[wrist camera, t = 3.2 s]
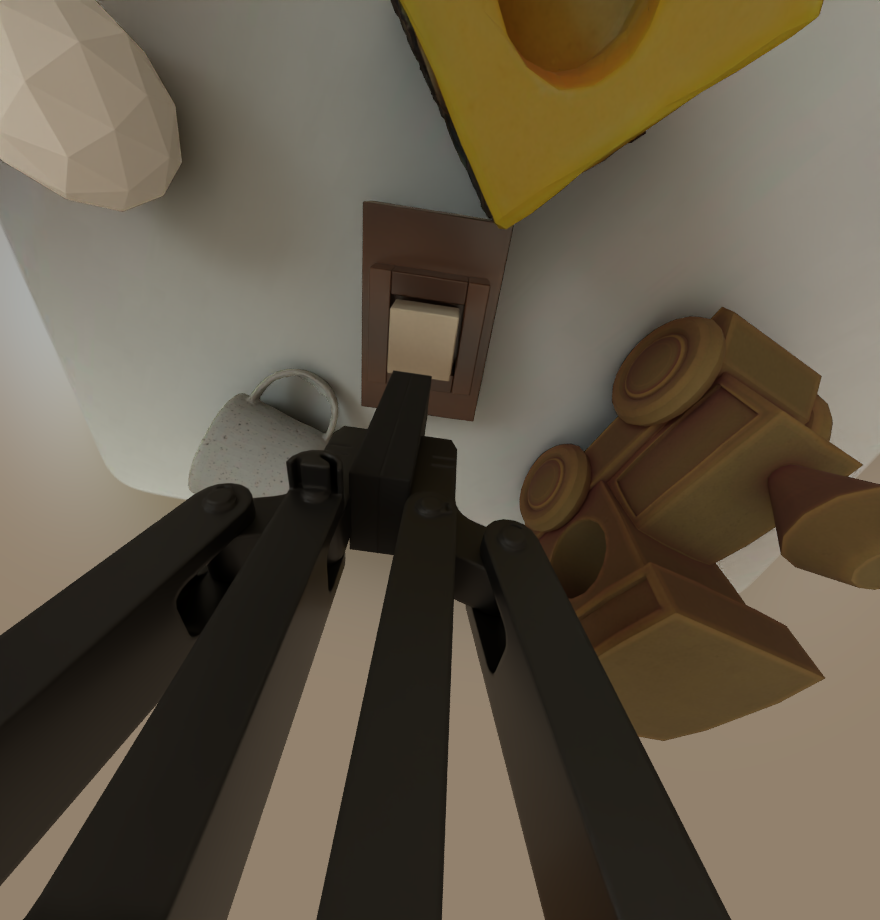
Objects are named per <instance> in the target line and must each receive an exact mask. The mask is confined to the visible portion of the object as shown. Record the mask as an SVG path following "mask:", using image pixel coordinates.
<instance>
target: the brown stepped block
mask: <svg viewBox="0 0 880 920" xmlns="http://www.w3.org/2000/svg"><path fill="white" fill-rule="evenodd" d="M513 227H514V225H512V226H511V227H509V228H508V229H499V228H498V226H497V225H496V224H494V223H493V221H492V220H491V219H485V218H478V217H472V216H466V215H459V214H453V213H447V212H440V211H434V210H427V209H421V208H415V207H408V206H402V205H395V204H389V203H383V202H376V201H364V202H363V269H362V404H361V405H362V406H366V407H373V408H377V406H378V404H379V402H380V400H381V397H382V395H383V393H384V390H385V388H386V386H387V384H388V381H389V379H390V377H391V374H392V373H388V372H387V364H388V343H389V323H390V308H391V306H392V305H393V303H394V302H395V300H396V299H401V300H407V301H414V302H421V303H428V304H434V305H441V306H448V307H454V308H459V310H460V311H459V323H458V330H457V336H456V343H455V349H454V356H453V362H452V369H451V375H450V380H449V381H442V380H435V379H432V380H431V388H430V396H429V404H428V412H427V415H430V416H437V417H444V418H452V419H459V420H466V421H473V420H474V415H475V411H476V406H477V401H478V396H479V391H480V386H481V382H482V377H483V372H484V367H485V362H486V357H487V352H488V348H489V343H490V338H491V333H492V328H493V323H494V319H495V314H496V309H497V304H498V299H499V294H500V290H501V285H502V280H503V275H504V270H505V265H506V261H507V256H508V251H509V246H510V241H511V236H512V232H513Z"/></svg>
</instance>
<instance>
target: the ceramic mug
mask: <svg viewBox="0 0 880 920" xmlns="http://www.w3.org/2000/svg"><path fill="white" fill-rule="evenodd" d="M293 375H295V376H298V377H300V378H302V379H304V380H306V381H307V382H309V383H310V384H312V385H314V386H315V387H316V388H317V389H318V391H319V393H320V394H321V395H324V396H325V397H326V399H327V400H328V402H329V403H330V406H331V414H332V417H331V420H330V424H329V428H328V430H327V432H326V433H323V432H321V431H319V430H317V429H315V428H313V427H311V426H309V425H306V424H303V423H301V422H299V421H297V420H295V419H293V418H292V417H290V416H288V415H286V414H284V413H282V412H281V411H279V410H277V409H275V408H273V407H271V406H270V405H267V404H265V403H263V402H262V401H260V396H261V395H262V394H263V392H264V391H265V390H266V388H267V387H268V386H269V385H270V384H271V383H273V382H274V381H275V380H277V379H280V378H283V377H289V376H293ZM337 418H338V402H337V398H336V396H335V394H334V392H333V390H332V389H331V388H330V386H329V385H328V384H327V383H326V382H325V381H324V380H323V379H321V378H320V377H318V376H317V375H315V374H313V373H311V372H309V371H306V370H301V369H286V370H282V371H278V372H276V373H273V374H272V375H270V376H268V377H267V378H265V379H264V380H263V381H262V382H261V383H260V384H259V385H258V386H257V388H256V389H255V390H254V391H253V393H252V394H251V396H249V395H246V394H243V393H241V394H238V395H236V396H234V397H233V398H232V399H230V400H229V401H228V402H227V403H226V404H225V405H224V407H223V408H222V409H221V410H220V411H219V413H218V414H217V416H216V417H215V419H214V420H213V422H212V423H211V425H210V427H209V428H208V430H207V432H206V434H205V436H204V437H203V439H202V442H201V444H200V446H199V448H198V450H197V452H196V455H195V457H194V459H193V463H192V466H191V469H190V473H189V483H188V485H189V489H190V491H191V492H193V493H195V494H196V493H197V492H199V491H201V490H203V489H205V488H206V487H210V486H213V485H216V484H223V483H234V484H240V485H243V486H245V487H246V488H248V489H249V490H250V492H251V494H252V496H253V498H258V497H270V496H278V495H283V494H286V493H287V492H288V490H289V481H288V474H287V466H286V461H287V460H288V459H289V458H290V457H292V456H293V455H295V454H298V453H300V452H303V451H308V450H324V449H325V447H326V445H327V444H328V442H329V440H330V438H331V435H332V433H333V431H334V429H335V427H336V423H337Z"/></svg>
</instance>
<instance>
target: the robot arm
mask: <svg viewBox="0 0 880 920" xmlns="http://www.w3.org/2000/svg"><path fill="white" fill-rule="evenodd" d="M431 380H432V376H429V375H422V374H415V373H408V372H401V371H395V370H393V372H392V374H391V377H390V379H389V381H388V384H387V386H386V388H385V390H384V393H383V395H382V397H381V400H380V402H379V404H378V406H377V409H376V411H375V413H374V416H373V418H372V420H371V422H370V425H369V427H368V429H363V428H356V427H349V426H344V427H342V428H341V429H339V430H338V431H336V432H334V433H333V435H332V437H331V438H330V440H329V442H328V444H327V445H326V447H325V449H324V450H308V451H303V452H300V453H298V454H295V455H293V456H292V457H290V458H289V459H288V460H287V461H286V466H287V474H288V481H289V490H288V492H287V493H286V494H283V495H278V496H270V497H258V498H253V496H252V494H251V492H250V490H249V489H248V488H246V487H245V486H243V485H240V484H234V483H223V484H216V485H213V486H210V487H206V488H205V489H203V490H201V491H199V492H197V493H196V494H194V495H193V496H192V497H190V498H189V499H187V500H186V501H185V502H183V503H182V504H181V505H179V506H178V507H176V508H175V509H174V510H173V511H171V512H170V513H168V514H167V515H166V516H164V517H163V518H161V519H160V520H159V521H157V522H156V523H154V524H153V525H152V526H150V527H149V528H148V529H146V530H145V531H143V532H142V533H141V534H139V535H138V536H137V537H135V538H134V539H133V540H131V541H130V542H128V543H127V544H126V545H124V546H123V547H121V548H120V549H119V550H118V551H116V552H115V553H113V554H112V555H111V556H109V557H108V558H106V559H105V560H104V561H102V562H101V563H99V564H98V565H97V566H95V567H94V568H93V569H91V570H90V571H88V572H87V573H86V574H84V575H83V576H81V577H80V578H79V579H77V580H76V581H75V582H73V583H72V584H70V585H69V586H68V587H66V588H65V589H64V590H62V591H61V592H60V593H58V594H57V595H55V596H54V597H53V598H51V599H50V600H48V601H47V602H46V603H44V604H43V605H42V606H40V607H39V608H37V609H36V610H35V611H33V612H32V613H31V614H29V615H28V616H27V617H25V618H24V619H22V620H21V621H20V622H18V623H17V624H15V625H14V626H13V627H11V628H10V629H9V630H7V631H6V632H4V633H3V634H2V635H0V886H1V884H2V883H3V882H4V881H5V880H6V879H7V877H8V876H9V875H10V874H11V873H12V872H13V871H14V869H15V868H16V867H17V866H18V865H19V864H20V862H21V861H22V860H23V859H24V858H25V857H26V855H27V854H28V853H29V852H30V851H31V849H32V848H33V847H34V846H35V845H36V844H37V843H38V842H39V840H40V839H41V838H42V837H43V836H44V835H45V833H46V832H47V831H48V830H49V829H50V827H51V826H52V825H53V824H54V823H55V822H56V821H57V819H58V818H59V817H60V816H61V815H62V814H63V812H64V811H65V810H66V809H67V808H68V807H69V806H70V804H71V803H72V802H73V801H74V800H75V798H76V797H77V796H78V795H79V794H80V793H81V792H82V790H83V789H84V788H85V787H86V785H88V783H89V782H90V781H91V780H92V779H93V778H94V776H95V775H96V774H97V773H98V772H99V771H100V769H101V768H102V767H103V766H104V765H105V763H106V762H107V761H108V760H109V759H110V758H111V757H112V755H113V754H114V753H115V752H116V751H117V750H118V749H119V747H120V746H121V745H122V744H123V743H124V741H125V740H126V739H127V738H128V737H129V736H130V734H131V733H132V732H133V731H134V730H135V729H136V728H137V727H138V725H139V724H140V723H141V722H142V721H143V719H144V718H145V717H146V716H147V715H148V713H150V711H151V710H152V709H153V708H154V707H155V706H156V704H157V703H158V704H157V706H156V707H155V709H154V711H153V712H152V714H151V715H150V717H149V719H148V720H147V722H146V724H145V725H144V727H143V729H142V730H141V732H140V734H139V735H138V737H137V738H136V740H135V742H134V744H133V745H132V747H131V748H130V750H129V751H128V753H127V755H126V756H125V758H124V760H123V761H122V763H121V764H120V766H119V768H118V769H117V771H116V773H115V774H114V776H113V778H112V779H111V781H110V782H109V784H108V786H107V787H106V789H105V791H104V792H103V794H102V796H101V797H100V799H99V800H98V802H97V804H96V806H95V807H94V809H93V811H92V812H91V813H90V815H89V817H88V818H87V820H86V822H85V823H84V825H83V826H82V828H81V830H80V831H79V833H78V835H77V836H76V838H75V840H74V841H73V843H72V845H71V846H70V848H69V849H68V851H67V853H66V854H65V856H64V857H63V860H62V861H61V862H60V864H59V866H58V867H57V869H56V871H55V872H54V874H53V875H52V877H51V879H50V881H49V882H48V884H47V885H46V887H45V888H44V890H43V892H42V894H41V895H40V897H39V898H38V900H37V901H36V902H35V904H34V905H33V907H32V908H31V910H30V911H29V913H28V914H27V916H26V917H25V918H24V919H23V920H227V917H228V914H229V911H230V908H231V905H232V902H233V899H234V896H235V893H236V890H237V887H238V884H239V881H240V878H241V875H242V872H243V869H244V866H245V863H246V860H247V857H248V854H249V851H250V848H251V845H252V842H253V839H254V836H255V833H256V830H257V827H258V824H259V821H260V818H261V815H262V812H263V809H264V806H265V803H266V800H267V797H268V794H269V791H270V788H271V785H272V782H273V779H274V776H275V773H276V770H277V767H278V764H279V761H280V758H281V755H282V752H283V749H284V746H285V743H286V740H287V737H288V734H289V731H290V728H291V725H292V722H293V719H294V716H295V713H296V710H297V707H298V704H299V701H300V698H301V695H302V692H303V689H304V686H305V683H306V680H307V677H308V674H309V671H310V668H311V665H312V662H313V659H314V656H315V653H316V650H317V647H318V644H319V641H320V638H321V635H322V632H323V629H324V626H325V623H326V620H327V617H328V614H329V611H330V608H331V605H332V602H333V599H334V596H335V593H336V590H337V587H338V584H339V581H340V578H341V575H342V572H343V569H344V566H345V550H346V547H347V544H348V541H349V538H350V549H353V550H360V551H367V552H375V553H382V554H390V555H394V556H393V561H392V566H391V570H390V575H389V580H388V585H387V589H386V594H385V599H384V603H383V608H382V613H381V618H380V623H379V627H378V632H377V637H376V641H375V646H374V651H373V656H372V660H371V665H370V670H369V674H368V679H367V684H366V688H365V693H364V698H363V702H362V707H361V712H360V717H359V721H358V726H357V731H356V736H355V741H354V745H353V750H352V755H351V759H350V764H349V769H348V773H347V778H346V783H345V787H344V792H343V797H342V802H341V806H340V811H339V816H338V820H337V825H336V830H335V835H334V839H333V844H332V849H331V854H330V858H329V863H328V868H327V873H326V877H325V882H324V887H323V891H322V896H321V901H320V905H319V910H318V915H317V920H442V898H443V872H444V871H443V870H444V846H445V845H444V843H445V818H446V792H447V766H448V740H449V712H450V686H451V685H450V684H451V659H452V633H453V606H454V599H455V600H457V601H459V602H462V603H464V604H466V610H467V614H468V618H469V622H470V626H471V630H472V634H473V638H474V642H475V646H476V650H477V654H478V658H479V662H480V666H481V669H482V673H483V677H484V681H485V685H486V689H487V693H488V697H489V701H490V705H491V709H492V713H493V717H494V721H495V725H496V728H497V732H498V736H499V740H500V744H501V748H502V752H503V756H504V760H505V764H506V767H507V772H508V775H509V780H510V784H511V787H512V791H513V795H514V799H515V803H516V807H517V811H518V815H519V819H520V823H521V827H522V831H523V834H524V839H525V842H526V846H527V850H528V854H529V858H530V862H531V866H532V870H533V873H534V878H535V882H536V886H537V890H538V894H539V898H540V902H541V906H542V909H543V913H544V917H545V920H731V918H730V916H729V915H728V913H727V911H726V909H725V907H724V905H723V903H722V901H721V899H720V897H719V895H718V893H717V891H716V889H715V887H714V885H713V883H712V881H711V879H710V877H709V876H708V873H707V871H706V869H705V867H704V865H703V863H702V861H701V859H700V857H699V855H698V853H697V851H696V849H695V848H694V845H693V843H692V842H691V840H690V838H689V836H688V834H687V832H686V830H685V828H684V826H683V824H682V822H681V820H680V818H679V816H678V814H677V812H676V810H675V808H674V806H673V804H672V802H671V800H670V798H669V796H668V794H667V792H666V790H665V788H664V786H663V784H662V782H661V781H660V778H659V776H658V774H657V772H656V771H655V769H654V767H653V765H652V763H651V761H650V759H649V757H648V755H647V753H646V751H645V749H644V747H643V745H642V743H641V741H640V739H639V737H638V735H637V733H636V731H635V729H634V727H633V725H632V723H631V721H630V719H629V717H628V715H627V713H626V711H625V709H624V707H623V705H622V703H621V701H620V699H619V697H618V695H617V693H616V692H615V690H614V688H613V686H612V684H611V682H610V680H609V678H608V676H607V674H606V672H605V670H604V668H603V666H602V664H601V662H600V660H599V658H598V656H597V654H596V652H595V650H594V648H593V646H592V644H591V642H590V640H589V638H588V636H587V634H586V632H585V630H584V628H583V626H582V624H581V622H580V620H579V618H578V617H577V615H576V613H575V611H574V609H573V607H572V605H571V603H570V601H569V599H568V597H567V595H566V593H565V591H564V589H563V587H562V585H561V583H560V581H559V579H558V577H557V575H556V573H555V571H554V569H553V567H552V565H551V563H550V561H549V559H548V557H547V555H546V553H545V551H544V549H543V547H542V545H541V543H540V542H539V540H538V538H537V536H536V535H535V534H534V533H533V531H532V530H531V529H529V528H528V527H526V526H525V525H524V524H521V523H519V522H516V521H513V520H504V519H502V520H497V521H494V522H492V523H491V524H489V525H488V526H487V527H485V526H483V525H480V524H478V523H475V522H473V521H471V520H469V519H468V518H467V517H465V516H464V515H463V514H462V513H461V512H460V511H459V510H458V508H457V506H456V502H455V489H456V465H457V448H456V447H455V445H454V444H453V442H452V440H448V439H441V438H434V437H427V436H425V428H426V420H427V412H428V404H429V396H430V388H431Z"/></svg>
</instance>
